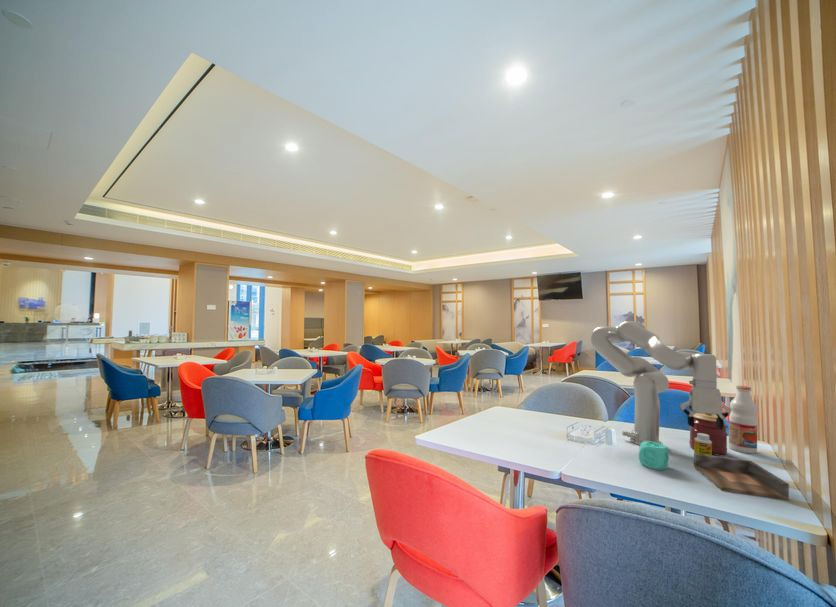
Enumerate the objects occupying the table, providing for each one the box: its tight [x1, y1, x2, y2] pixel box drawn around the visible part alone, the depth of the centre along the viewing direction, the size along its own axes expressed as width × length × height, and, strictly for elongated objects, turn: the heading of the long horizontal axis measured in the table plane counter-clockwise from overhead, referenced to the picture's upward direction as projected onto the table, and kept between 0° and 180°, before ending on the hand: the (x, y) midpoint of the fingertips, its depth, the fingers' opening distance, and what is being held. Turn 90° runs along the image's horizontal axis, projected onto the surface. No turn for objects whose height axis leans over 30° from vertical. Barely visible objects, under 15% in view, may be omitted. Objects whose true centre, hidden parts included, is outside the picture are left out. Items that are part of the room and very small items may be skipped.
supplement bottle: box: [693, 433, 713, 456], centre depth 148 cm, size 6×6×10 cm
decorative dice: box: [638, 441, 670, 471], centre depth 139 cm, size 8×8×8 cm
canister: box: [689, 413, 729, 456], centre depth 160 cm, size 13×13×18 cm
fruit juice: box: [728, 385, 758, 455], centre depth 163 cm, size 9×9×28 cm
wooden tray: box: [693, 453, 790, 501], centre depth 128 cm, size 18×20×5 cm
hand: (705, 427), depth 148 cm, fingers open, 9 cm apart
